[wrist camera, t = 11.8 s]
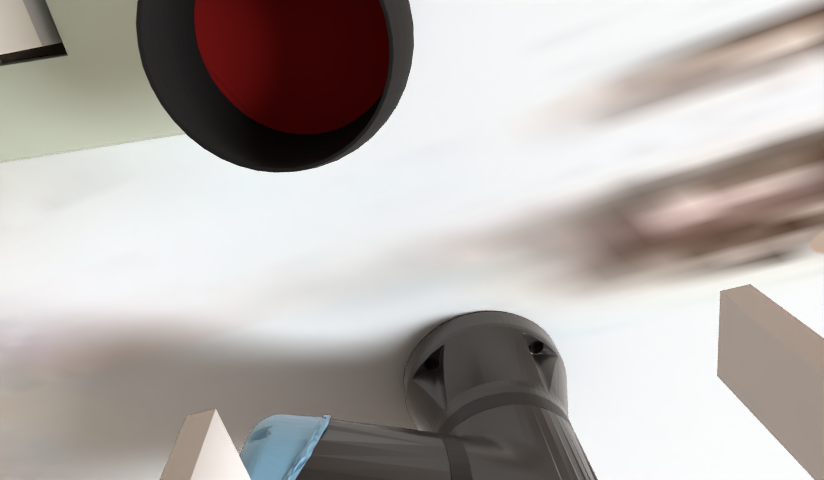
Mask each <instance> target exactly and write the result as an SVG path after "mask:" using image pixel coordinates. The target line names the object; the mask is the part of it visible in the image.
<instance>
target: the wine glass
mask: <svg viewBox="0 0 824 480" xmlns="http://www.w3.org/2000/svg"><path fill="white" fill-rule="evenodd" d="M136 31H137V42H138V49H139V53H140V58H141V62H142V67H143V69H144V71H145V74H146V76H147V79H148V81H149V84H150V86H151V88H152V90H153V91H154V93H155V95H156V97H157V98H158V100H159V102H160V104H161V105H162V107H163V108H164V109H165V111H166V112H167V113H168V115H169V116H170V117H171V118H172V120H173V121H174V122H175V123H176V124H177V125H178V126H179V127H180V128H181V129H182V130H183V131H184V132H185V133H186V134H187V135H188V136H189V137H190V138H191V139H193V140H194V141H195V142H196V143H198V144H199V145H200V146H201V147H203V148H204V149H206V150H207V151H209V152H211V153H213V154H214V155H216V156H218V157H219V158H221V159H223V160H226V161H228V162H231V163H233V164H236V165H238V166H241V167H245V168H249V169H253V170H257V171H266V172H295V171H302V170H307V169H312V168H317V167H320V166H323V165H325V164H328V163H331V162H334V161H337V160H339V159H340V158H342V157H344V156H346V155H348V154H349V153H351V152H353V151H355V150H356V149H358V148H359V147H360V146H362V145H363V144H364V143H365V142H367V141H368V140H369V139H371V138H372V137H373V136H374V135H375V133H376V132H377V131H378V130H379V129H380V128H381V127H382V126H383V125H384V124H385V122H386V121H387V120H388V118H389V117H390V115H391V114H392V112H393V111H394V109H395V108H396V106H397V105H398V102H399V100H400V98H401V96H402V94H403V91H404V89H405V87H406V83H407V80H408V76H409V73H410V69H411V64H412V56H413V48H414V36H413V21H412V15H411V9H410V4H409V1H408V0H138V2H137V14H136Z"/></svg>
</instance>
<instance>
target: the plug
mask: <svg viewBox="0 0 824 480" xmlns="http://www.w3.org/2000/svg"><path fill="white" fill-rule="evenodd" d="M57 43H62V40H61V37H60V35H59V32H58V30H57V27H56V25H55V22H54V20H53V18H52V15H51V13H50V10H49V8H48V5H47V3H46V0H0V55H2V54H7V53H12V52H17V51H22V50H27V49H32V48H37V47H42V46H47V45H52V44H57Z"/></svg>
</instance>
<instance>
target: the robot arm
mask: <svg viewBox="0 0 824 480" xmlns="http://www.w3.org/2000/svg"><path fill="white" fill-rule="evenodd" d="M717 376H718V377H719V378H720V379H721V380H722V381H723V382H724V384H725V385H726V386H727V387H728V388H729V389H730V390H731V391H732V392H733V393H734V394H735V395H736V396H737V397H738V398H739V400H740V401H741V402H742V403H743V404H744V405H745V406H746V407H747V408H748V409H749V410H750V411H751V412H752V413H753V414H754V416H755V417H756V418H757V419H758V420H759V421H760V422H761V423H762V424H763V425H764V426H765V427H766V428H767V429H768V430H769V432H770V433H771V434H772V435H773V436H774V437H775V438H776V439H777V440H778V441H779V442H780V443H781V444H782V445H783V446H784V448H785V449H786V450H787V451H788V452H789V453H790V454H791V455H792V456H793V457H794V458H795V459H796V460H797V461H798V462H799V464H800V465H801V466H802V467H803V468H804V469H805V470H806V471H807V472H808V473H809V474H810V475H811V476H812V477H813V478H814V479H815V480H824V338H822V337H821V336H820V335H818V334H817V333H816V332H814V331H813V330H812V329H810V328H809V327H807V326H806V325H805V324H803V323H802V322H801V321H799V320H798V319H797V318H795V317H794V316H793V315H791V314H790V313H789V312H787V311H786V310H784V309H783V308H782V307H780V306H779V305H778V304H776V303H775V302H774V301H772V300H771V299H770V298H768V297H767V296H766V295H764V294H763V293H761V292H760V291H759V290H757V289H756V288H755V287H753V286H752V285H751V284H749V285H745V286H740V287H736V288H732V289H728V290H723V291H720V314H719V341H718V368H717ZM404 388H405V399H406V405H407V409H408V412H409V414H410V417H411V419H412V421H413V423H414V424H415V426H416V428H417V429H418V430H413V429H405V428H396V427H388V426H380V425H372V424H364V423H356V422H349V421H342V420H334V419H331V415H324V416H322V417H313V416H299V415H286V414H277V415H272V416H269V417H267V418H265V419H263V420H262V421H260V422H259V423H258V424H257V425H256V426H255V427H254V428H253V430H252V431H251V433H250V434H249V436H248V438H247V440H246V442H245V444H244V446H243V449H242V451H241V453H240V456H239V454H238V452H237V450H236V448H235V446H234V444H233V442H232V440H231V438H230V436H229V434H228V432H227V430H226V428H225V426H224V424H223V422H222V420H221V418H220V416H219V414H218V412H217V410H216V409H213V410H208V411H204V412H200V413H195V414H191V415H187V416H186V419H185V421H184V423H183V426H182V428H181V430H180V433H179V435H178V438H177V440H176V442H175V445H174V447H173V449H172V452H171V454H170V457H169V459H168V461H167V464H166V466H165V468H164V471H163V473H162V476H161V478H160V480H598V479H597V477H596V475H595V473H594V471H593V469H592V467H591V465H590V463H589V461H588V459H587V457H586V455H585V452H584V450H583V448H582V446H581V444H580V442H579V440H578V438H577V436H576V434H575V432H574V430H573V428H572V426H571V423H570V421H569V419H568V401H567V377H566V370H565V367H564V363H563V360H562V358H561V356H560V354H559V352H558V350H557V348H556V346H555V344H554V342H553V341H552V339H551V338H550V336H549V335H548V334H547V333H546V332H545V331H544V330H543V329H542V328H541V327H539V326H538V325H537V324H535V323H534V322H532V321H530V320H528V319H526V318H524V317H521V316H518V315H515V314H511V313H505V312H478V313H472V314H467V315H464V316H460V317H457V318H455V319H452V320H450V321H448V322H446V323H444V324H442V325H440V326H439V327H437V328H436V329H434V330H433V331H432V332H430V333H429V334H428V335H427V336H426V337H425V338H424V339H423V340H422V341H421V342H420V343H419V344H418V345H417V347H416V348H415V349H414V351H413V352H412V354H411V356H410V358H409V360H408V363H407V366H406V369H405V375H404Z"/></svg>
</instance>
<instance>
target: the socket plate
mask: <svg viewBox="0 0 824 480" xmlns="http://www.w3.org/2000/svg"><path fill="white" fill-rule="evenodd" d="M137 2H138V0H46V3H47V5H48V8H49V10H50V13H51V15H52V18H53V20H54V22H55V25H56V27H57V30H58V32H59V35H60V37H61V40H62V42H63V45H64V47H65V49H66V52H67V53H64V54H58V55H51V56H45V57H38V58H32V59H25V60H19V61H13V62H6V63H2V61H1V59H0V163H2V162H9V161H15V160H22V159H28V158H34V157H41V156H47V155H53V154H60V153H66V152H73V151H79V150H85V149H92V148H98V147H104V146H111V145H117V144H123V143H130V142H136V141H143V140H149V139H155V138H162V137H168V136H174V135H181V134H186V133H185V132H184V131H183V130H182V129H181V128H180V127H179V126H178V125H177V124H176V123H175V122H174V121H173V120H172V118H171V117H170V116H169V115H168V113H167V112H166V111H165V109H164V108H163V107H162V105H161V104H160V102H159V100H158V98H157V97H156V95H155V93H154V91H153V90H152V88H151V86H150V84H149V81H148V79H147V76H146V74H145V71H144V69H143V67H142V62H141V58H140V53H139V49H138V42H137V31H136V14H137Z"/></svg>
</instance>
